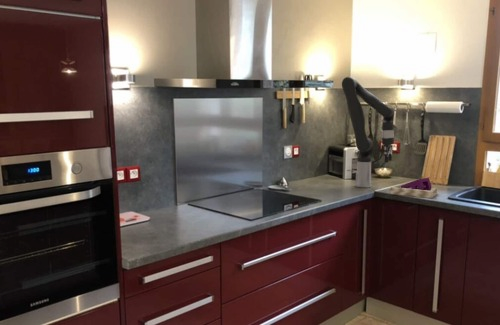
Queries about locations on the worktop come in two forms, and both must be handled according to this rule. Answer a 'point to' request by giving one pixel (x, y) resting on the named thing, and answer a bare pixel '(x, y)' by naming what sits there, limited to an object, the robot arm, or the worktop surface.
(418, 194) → the beige tray
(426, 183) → the purple wedge
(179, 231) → the worktop surface
